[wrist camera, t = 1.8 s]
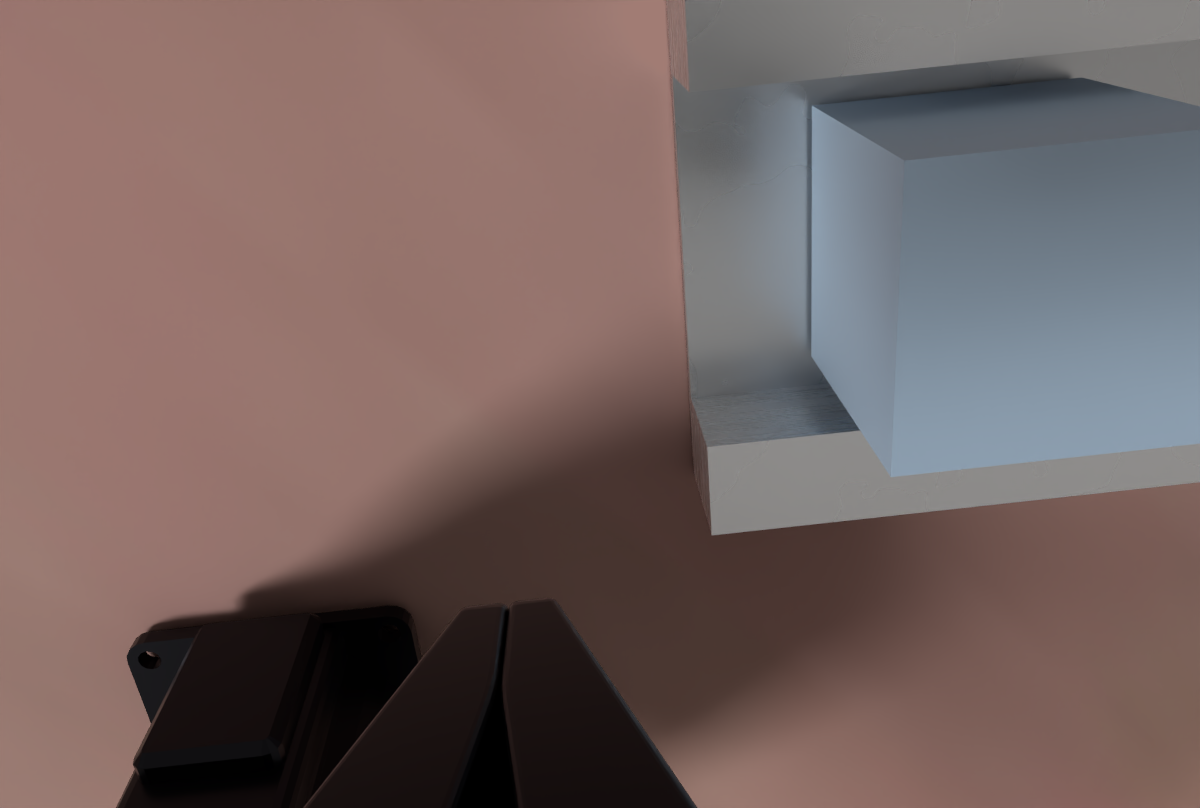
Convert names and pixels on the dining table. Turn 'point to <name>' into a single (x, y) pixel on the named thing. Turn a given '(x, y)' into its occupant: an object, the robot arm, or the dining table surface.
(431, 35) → the dining table surface
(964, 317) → the block
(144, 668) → the robot arm
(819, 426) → the chute
